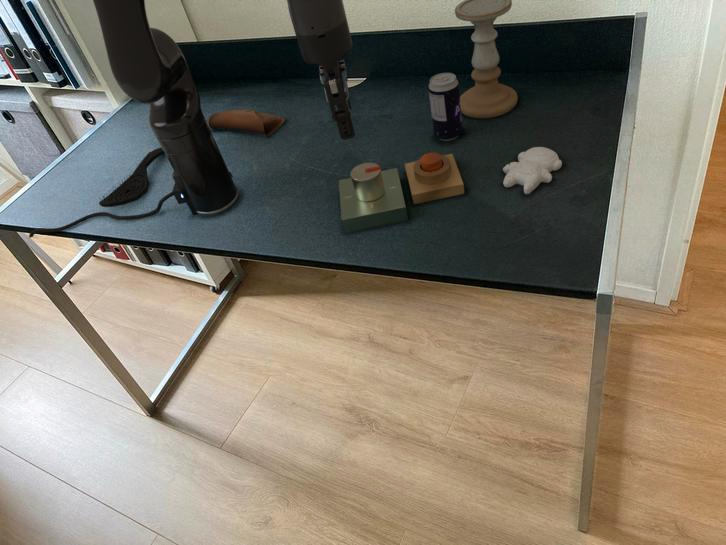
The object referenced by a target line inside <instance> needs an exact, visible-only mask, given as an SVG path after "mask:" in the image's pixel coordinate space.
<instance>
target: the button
mask: <svg viewBox="0 0 726 545" xmlns="http://www.w3.org/2000/svg"><path fill="white" fill-rule="evenodd" d="M441 155H442V154H440V153H438V152H435V151H432V152H427V153H425V154H423V155H421V157H420V158H421V166H422V170H423V171H425V172H433V171H437V170H439V169H440V168H441V167H442V160H441Z"/></svg>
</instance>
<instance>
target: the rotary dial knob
mask: <svg viewBox="0 0 726 545" xmlns="http://www.w3.org/2000/svg"><path fill="white" fill-rule="evenodd" d="M381 171H382V169H381V166H380V165H379V164H377V163H375V162H363V163H360V164H358V165H356V166H355V167H353V168H352V169H351V171H350V175H349V176H350V178H351V179H352V183H353V187H354V190H355V194H356V197H357V199H359V200H361V201H365V202H368V201H374V200H376V199H378V198H380V197H381V196H382V195H383V194H384V192H385V188H384V183H383V178H382V174H381Z"/></svg>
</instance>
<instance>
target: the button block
mask: <svg viewBox="0 0 726 545" xmlns="http://www.w3.org/2000/svg"><path fill="white" fill-rule="evenodd" d="M440 155H441V160H442V167H441V168H440V169H439V170H437V171H433V172H425V171H423V170H422V166H421V157H420V158H419V159H417V160H416V161H411V162H406V163H404V168H405V173H406V174H405V175H406V179H407V184H408V186H409V187H408V188H409V191H410V195H411V200H412V204H413V205H417V204H422V203H427V202H431V201H436V200H441V199H445V198H451V197H455V196H460V195H464V194H465V186H464V185H465V184H464V182H463V179H462V176H461V173H460V170H459V168H458V166H457V162H456V159H455V156H454V154H453V153H448V154H440Z"/></svg>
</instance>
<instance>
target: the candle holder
mask: <svg viewBox="0 0 726 545" xmlns="http://www.w3.org/2000/svg"><path fill="white" fill-rule="evenodd" d="M512 6H513V1H512V0H463V1H461V2H460V3H458V4H457V5H456V6H455V7H454V15H455V17H456V18H457V19H458V20H461V21H463V22H470V23H471V24H472V25H473V26H474V31H473V33H472V34H471V37H470V39H471V40H470V41H472V42H473V43H474V45H473V46H474V47H473V51H472V52H473V53H472V57H471V61H470V62H471V66H472V68H474V69H473V70H472V72H471V73H470V74H471V75H470V76H471V79H472V80H474V82H475V83H474V86H472V87H470V88H469V89H468V90H466V91H464V92H463V93H462V94H461V95H460V104H461V115H464V116H466V117H469V118H472V119H473V118H474V119H492V118H496V117H499V116H502V115H505V114H507V113H509V112H510V111H512V110H513V109H514V108H515V107H516V106H517V103H518V99H519V97H518V93H517V91H516V90H515V89H514V88H512V87H511V86H509V85H506V84H504V83H500V82H499V80H498V79H499V77H500V75H501V73H502V69H501V68H500V67H499V66H498V64H499V63H500V58H501V57H500V54H499V52H498V48H497V45H496V41H495V40H496V39H497V37H498V34H499V33H498V31H497V30H495V29H494V23H495V21H496V20H497V18H499V17H502V16H503V15H505V14H506V13H508V12H509V11H510V10H511V9H512Z"/></svg>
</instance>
